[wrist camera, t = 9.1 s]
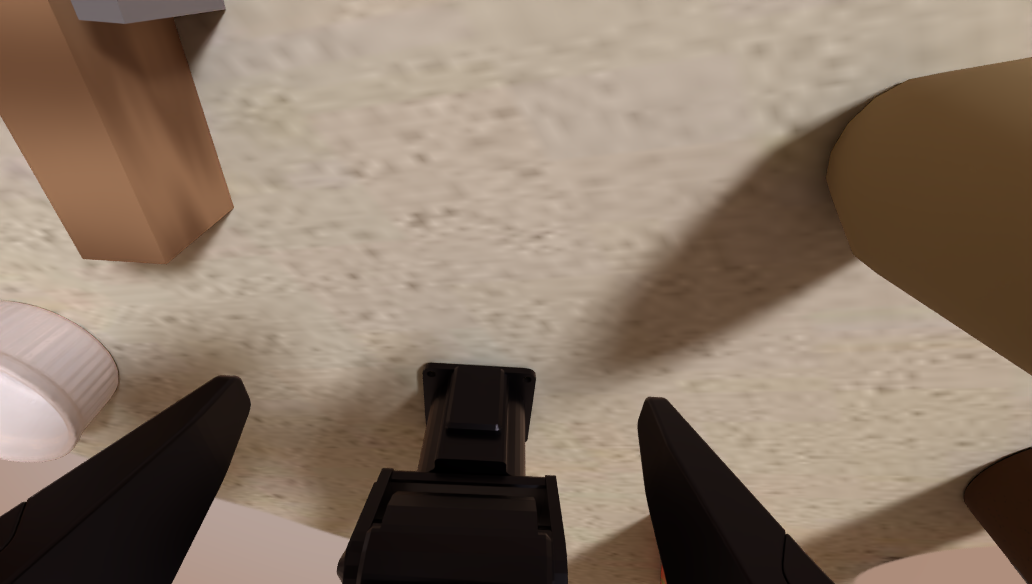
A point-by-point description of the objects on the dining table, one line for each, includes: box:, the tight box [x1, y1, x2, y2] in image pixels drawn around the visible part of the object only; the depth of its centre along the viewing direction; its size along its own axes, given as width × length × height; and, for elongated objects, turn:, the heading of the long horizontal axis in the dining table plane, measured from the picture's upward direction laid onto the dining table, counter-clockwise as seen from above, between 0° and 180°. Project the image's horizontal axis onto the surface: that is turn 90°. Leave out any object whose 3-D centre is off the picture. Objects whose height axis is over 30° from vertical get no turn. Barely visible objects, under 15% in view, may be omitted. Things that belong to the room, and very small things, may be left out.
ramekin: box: [0, 301, 118, 462], centre depth 24 cm, size 9×9×4 cm
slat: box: [0, 0, 234, 264], centre depth 15 cm, size 12×3×5 cm, turn 176°
